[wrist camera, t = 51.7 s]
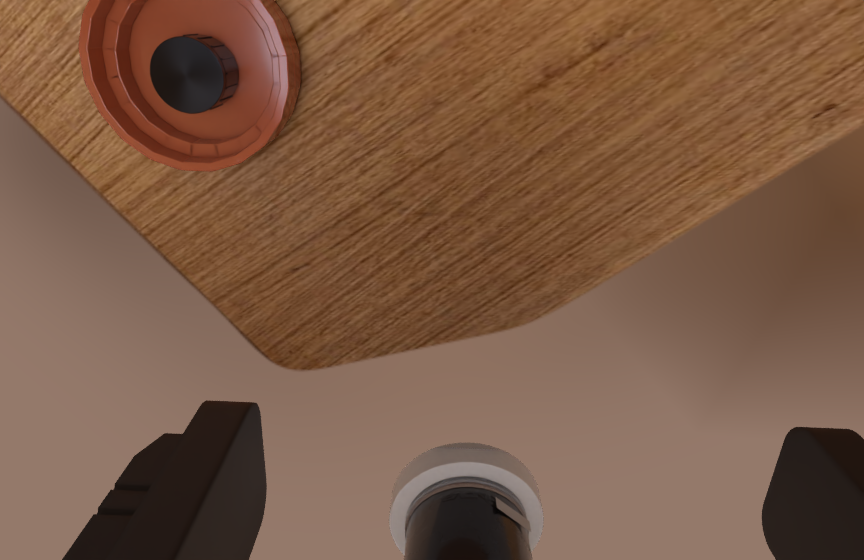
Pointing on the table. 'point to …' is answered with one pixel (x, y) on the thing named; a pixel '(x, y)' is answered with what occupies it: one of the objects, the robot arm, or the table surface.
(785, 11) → the table surface
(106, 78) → the dish
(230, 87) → the cap
